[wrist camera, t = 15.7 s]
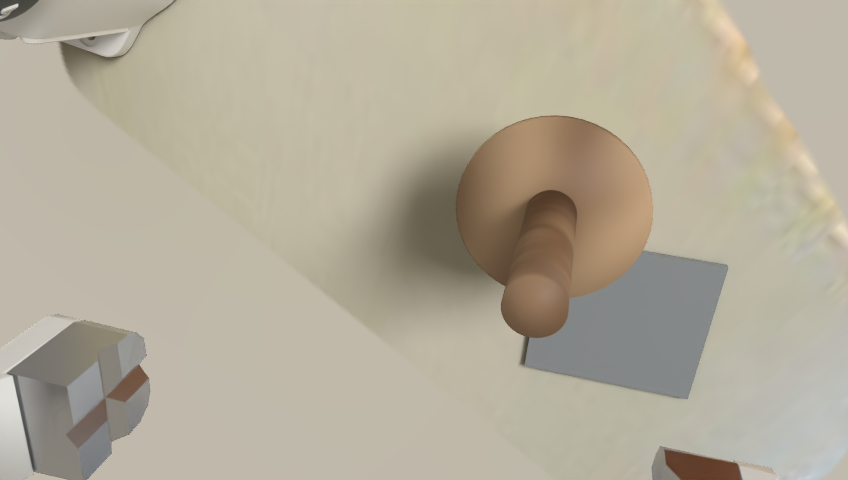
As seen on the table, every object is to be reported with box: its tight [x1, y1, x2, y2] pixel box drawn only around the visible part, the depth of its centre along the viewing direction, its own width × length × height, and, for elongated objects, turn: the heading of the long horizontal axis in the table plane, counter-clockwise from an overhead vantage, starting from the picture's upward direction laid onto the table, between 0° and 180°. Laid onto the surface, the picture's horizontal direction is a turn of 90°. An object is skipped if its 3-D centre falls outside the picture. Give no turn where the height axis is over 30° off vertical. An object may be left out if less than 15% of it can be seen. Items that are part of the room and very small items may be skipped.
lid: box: [456, 116, 653, 338], centre depth 32 cm, size 10×10×11 cm
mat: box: [524, 251, 728, 399], centre depth 45 cm, size 11×10×1 cm
